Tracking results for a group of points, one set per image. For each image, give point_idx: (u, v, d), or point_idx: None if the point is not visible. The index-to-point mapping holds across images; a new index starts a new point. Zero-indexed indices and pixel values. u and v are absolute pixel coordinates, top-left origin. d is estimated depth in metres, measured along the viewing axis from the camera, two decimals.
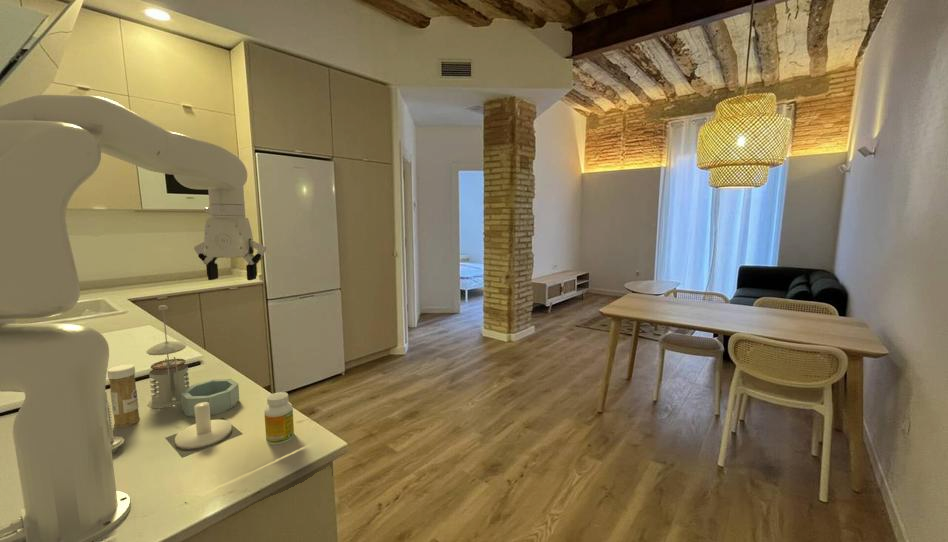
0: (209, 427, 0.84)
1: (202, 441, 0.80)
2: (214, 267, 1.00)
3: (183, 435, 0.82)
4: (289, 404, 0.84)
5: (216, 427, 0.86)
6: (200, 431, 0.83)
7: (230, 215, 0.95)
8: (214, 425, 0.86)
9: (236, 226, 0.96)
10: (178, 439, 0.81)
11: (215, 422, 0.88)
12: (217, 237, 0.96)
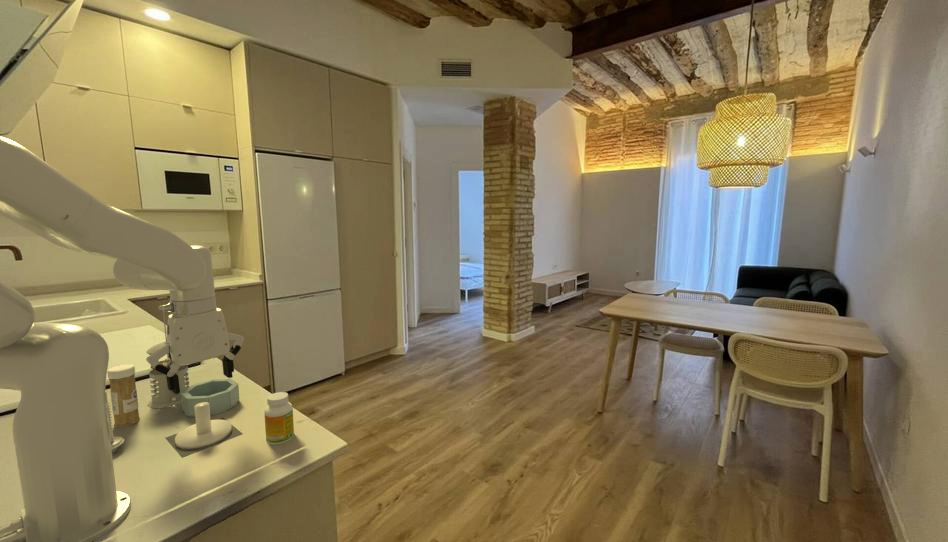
0: (209, 427, 0.84)
1: (202, 441, 0.80)
2: None
3: (183, 435, 0.82)
4: (289, 404, 0.84)
5: (216, 427, 0.86)
6: (200, 431, 0.83)
7: (212, 310, 0.81)
8: (214, 425, 0.86)
9: (218, 321, 0.82)
10: (178, 439, 0.81)
11: (215, 422, 0.88)
12: (194, 339, 0.79)
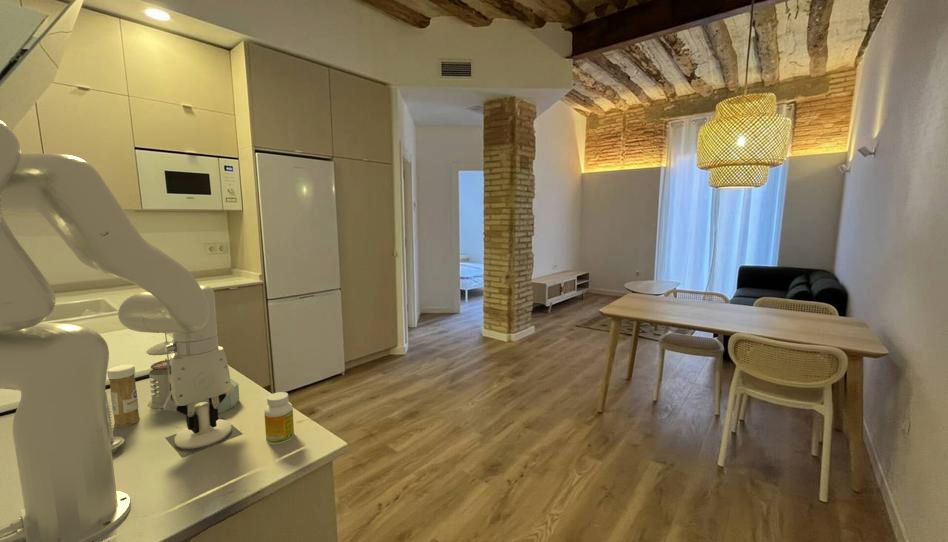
0: (209, 427, 0.84)
1: (202, 441, 0.80)
2: None
3: (183, 435, 0.82)
4: (289, 404, 0.84)
5: (216, 427, 0.86)
6: (200, 431, 0.83)
7: (214, 349, 0.82)
8: None
9: (219, 360, 0.83)
10: (177, 438, 0.81)
11: None
12: (196, 379, 0.79)
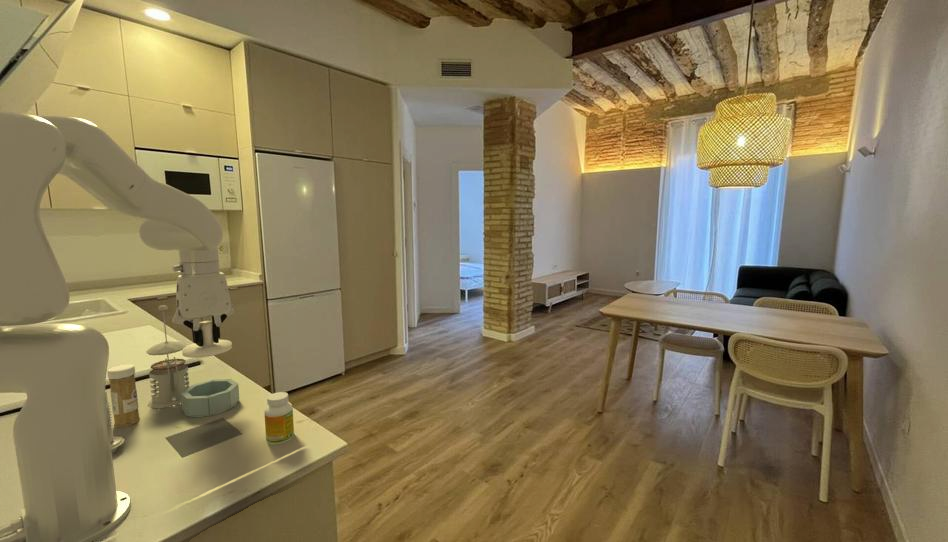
0: (212, 342, 0.95)
1: (206, 351, 0.91)
2: None
3: (189, 348, 0.93)
4: (289, 404, 0.84)
5: (218, 343, 0.97)
6: (204, 345, 0.94)
7: (216, 272, 0.92)
8: (216, 343, 0.97)
9: (221, 283, 0.94)
10: (185, 350, 0.92)
11: None
12: (200, 297, 0.90)
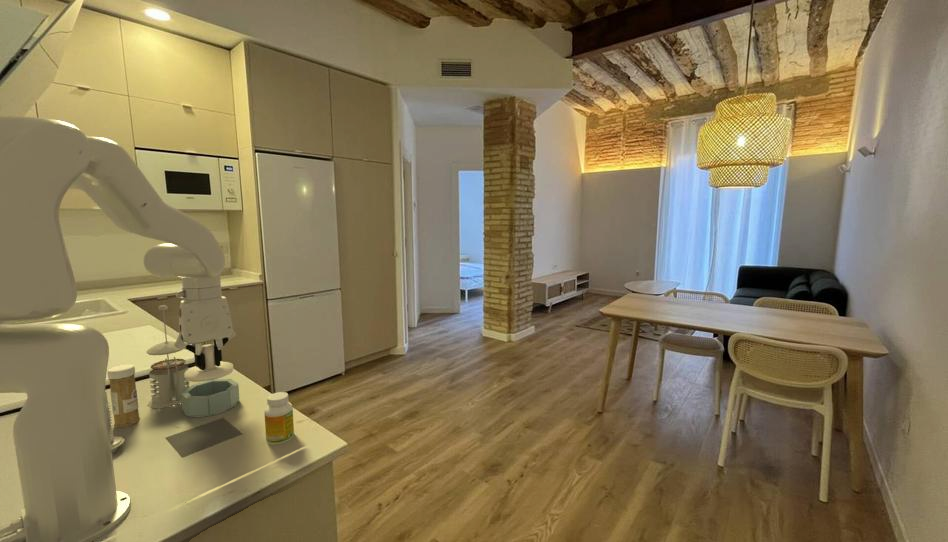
0: (214, 365, 0.96)
1: (208, 375, 0.93)
2: None
3: (191, 371, 0.95)
4: (289, 404, 0.84)
5: (220, 366, 0.98)
6: (206, 368, 0.95)
7: (218, 297, 0.94)
8: None
9: (223, 307, 0.95)
10: (187, 374, 0.93)
11: None
12: (202, 321, 0.92)
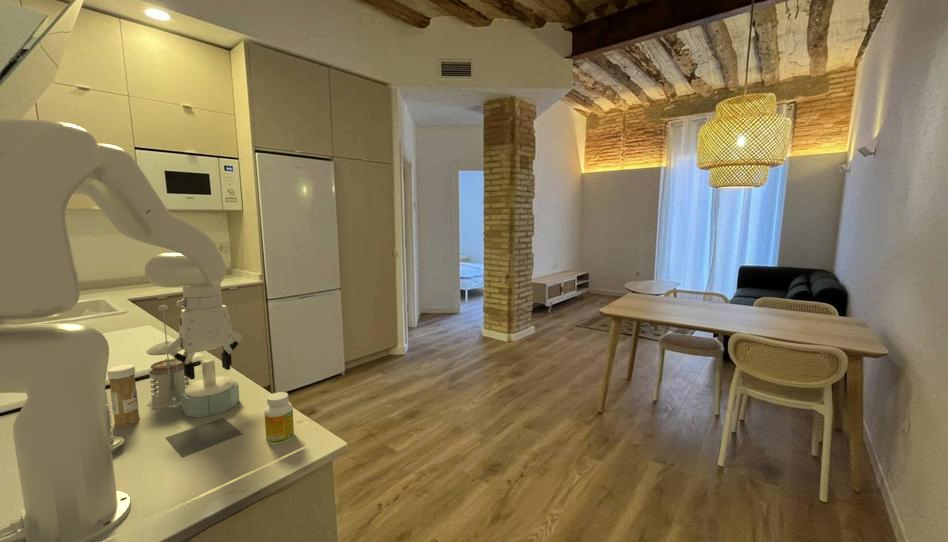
0: (214, 381, 0.96)
1: (208, 391, 0.93)
2: None
3: (192, 387, 0.95)
4: (289, 404, 0.84)
5: (220, 381, 0.98)
6: (206, 384, 0.95)
7: (219, 306, 0.94)
8: (218, 380, 0.99)
9: (223, 316, 0.95)
10: (187, 389, 0.94)
11: (219, 378, 1.00)
12: (203, 330, 0.92)
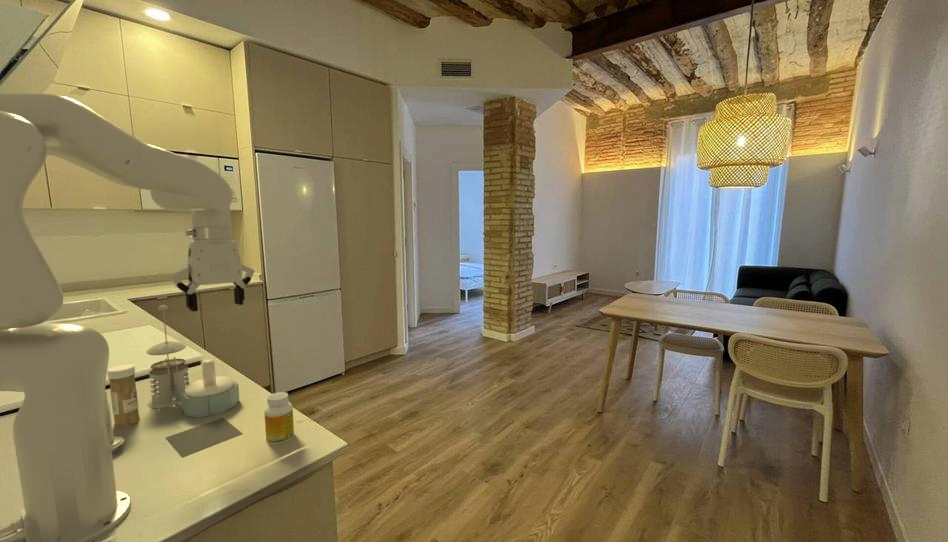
0: (214, 381, 0.96)
1: (208, 391, 0.93)
2: None
3: (192, 387, 0.95)
4: (289, 404, 0.84)
5: (220, 381, 0.98)
6: (206, 384, 0.95)
7: (229, 239, 0.91)
8: (218, 380, 0.99)
9: (233, 250, 0.93)
10: (187, 389, 0.94)
11: (219, 378, 1.00)
12: (212, 262, 0.89)
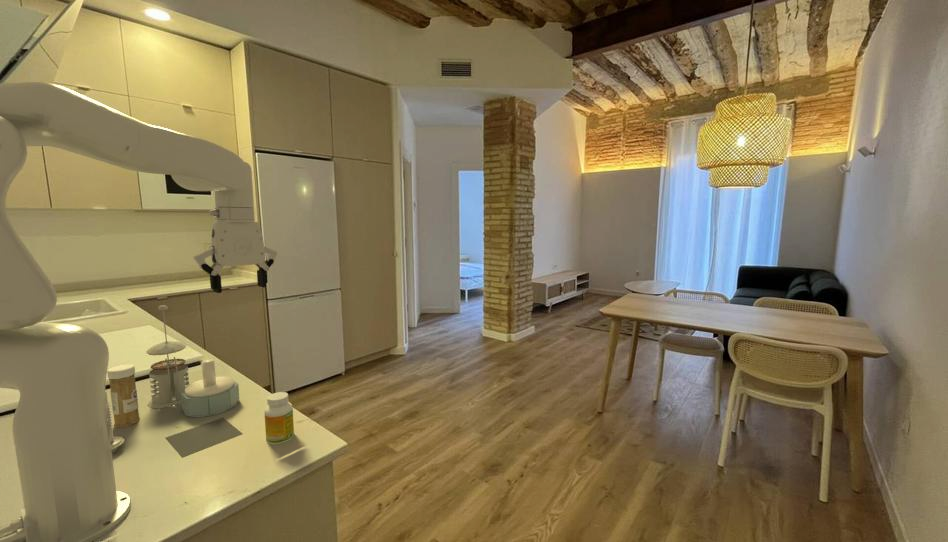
0: (214, 381, 0.96)
1: (208, 391, 0.93)
2: None
3: (192, 387, 0.95)
4: (289, 404, 0.84)
5: (220, 381, 0.98)
6: (206, 384, 0.95)
7: (252, 220, 0.90)
8: (218, 380, 0.99)
9: (256, 231, 0.91)
10: (187, 389, 0.94)
11: (219, 378, 1.00)
12: (236, 243, 0.88)
